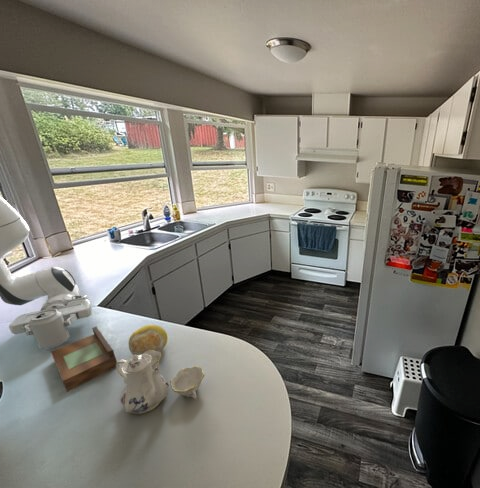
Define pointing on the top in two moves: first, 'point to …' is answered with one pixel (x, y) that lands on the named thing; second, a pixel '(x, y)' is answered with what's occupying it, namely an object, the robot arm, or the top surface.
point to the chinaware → (153, 382)
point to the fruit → (147, 339)
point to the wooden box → (84, 359)
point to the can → (49, 328)
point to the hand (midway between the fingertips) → (48, 328)
